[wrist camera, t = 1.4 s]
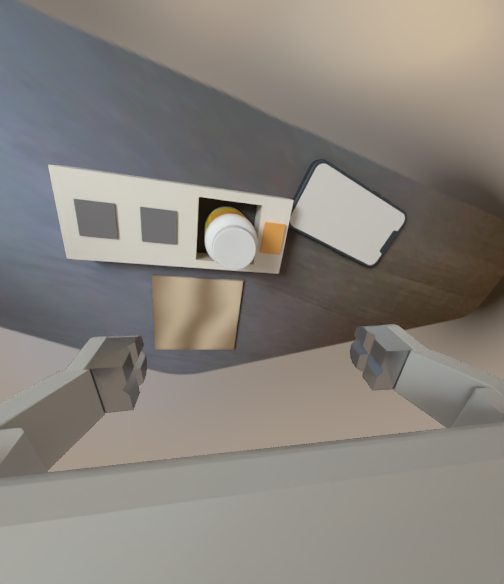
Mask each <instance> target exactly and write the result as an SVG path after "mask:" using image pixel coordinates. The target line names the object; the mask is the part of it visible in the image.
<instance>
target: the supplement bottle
mask: <svg viewBox="0 0 504 584" xmlns="http://www.w3.org/2000/svg"><path fill="white" fill-rule="evenodd" d="M205 247H206V250H207V252H208V254H209V256H210V257H211V258H212V259H213V260H214V261H215V262H216V263H218V264H220V265H221V266H222V267H224V268H226V269H229V270H239V269H242V268H244V267H246V266H248V265H249V264H250V263H251V262H252V260H253V259H254V256H255V253H256V248H257V234H256V231H255V229H254V227H253V225H252V224H251V223H250V221H249V220H248V219H247V218H246V217H245V216H244V215H243V214H242V213H241V212H240V211H239V210H237V209H236V208H233V207H230V206H222V207H219V208H216V209H215V210H213V211H212V212H211V213H210V214H209V215H208V217H207V219H206V222H205Z"/></svg>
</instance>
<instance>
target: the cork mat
mask: <svg viewBox="0 0 504 584" xmlns="http://www.w3.org/2000/svg"><path fill="white" fill-rule="evenodd" d="M242 286H243V280H230V279H214V278H198V277H182V276H166V275H152V291H153V315H154V340H155V349H234V345H235V337H236V330H237V323H238V316H239V308H240V301H241V294H242Z"/></svg>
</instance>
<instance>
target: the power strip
mask: <svg viewBox="0 0 504 584" xmlns="http://www.w3.org/2000/svg"><path fill="white" fill-rule="evenodd" d="M48 167H49V172H50V177H51V182H52V187H53V192H54V197H55V202H56V207H57V212H58V217H59V222H60V227H61V232H62V237H63V242H64V247H65V252H66V257H67V259H78V260H92V261H106V262H120V263H134V264H148V265H162V266H176V267H190V268H204V269H218V270H229V269H226V268H224V267H222V266H221V265H220V264H218V263H216V262H215V261H214V260H213V259H212V258H211V257H210V256H209V254H208V253H197V236H198V213H199V197H203V198H211V199H218V200H226V201H233V202H240V203H248V204H255V205H257V209H256V216H255V223H254V229H255V231H256V234H257V248H256V253H255V256H254V259H253V260H252V262H251V263H250V264H249V265H248V266H246V267H244V268H242V269H239V270H232V271H246V272H260V273H274V274H279V270H280V265H281V260H282V255H283V250H284V245H285V240H286V236H287V231H288V226H289V221H290V216H291V211H292V206H293V201H294V200H291V199H288V198H283V197H276V196H269V195H263V194H256V193H249V192H242V191H235V190H228V189H221V188H215V187H208V186H201V185H194V184H187V183H180V182H174V181H167V180H160V179H153V178H146V177H139V176H133V175H126V174H119V173H112V172H105V171H98V170H91V169H85V168H78V167H71V166H62V165H48Z"/></svg>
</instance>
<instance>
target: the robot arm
mask: <svg viewBox="0 0 504 584" xmlns="http://www.w3.org/2000/svg"><path fill="white" fill-rule="evenodd" d="M354 336H355V338H356V340H355V341H354V342H353V343H352V345H351V349H350V356H351V360H352V362H353V364H354V365H355V367H356V368H357V369H359V370H361V371H362V372H363V378H364V379H365V381H366V382H367V383H368V385H369V386H370V388H371V389H372V390H389V389H394V391H395V392H397V393H398V394H400V395H401V396H403V397H404V398H405V399H407V400H408V401H410V402H411V403H413V404H414V405H415V406H417V407H418V408H419V409H421V410H422V411H424V412H425V413H427V414H428V415H429V416H431V417H432V418H434V419H435V420H436V421H438V422H439V423H441V424H442V425H444V426H445V427H446V428H444V429H435V430H426V431H417V432H408V433H399V434H390V435H381V436H372V437H363V438H354V439H346V440H336V441H327V442H319V443H309V444H300V445H292V446H282V447H273V448H264V449H255V450H246V451H237V452H228V453H219V454H209V455H201V456H192V457H183V458H173V459H164V460H156V461H147V462H137V463H128V464H120V465H112V466H111V465H110V466H102V467H92V468H83V469H75V470H66V471H56V472H48V470H49V469H50V468H51V467H52V466H53V465H54V464H55V463H56V462H57V461H58V460H59V459H60V458H61V457H62V456H63V455H64V454H65V453H66V452H67V451H68V450H69V449H70V448H71V447H72V446H73V445H74V444H75V443H76V442H77V441H78V440H79V439H80V438H82V437H83V436H84V435H85V434H86V432H88V431H89V430H90V429H91V428H92V427H93V426H94V425H95V424H96V423H97V422H98V421H99V420H100V419H101V418H102V417H103V416H104V415H105V413H111V412H119V411H128V410H134V407H135V404H136V402H137V399H138V396H139V393H140V392H139V387H138V386H139V385H141V384H142V383H143V382H144V379H145V376H146V370H147V360H146V355H145V354H144V353H143V352H141V350H142V348H143V346H144V344H143V340H142V337H141V336H140V335H135V336H98V337H92V338H90V339H89V340H88V342H87V343H86V344H85V345H84V347H83V348H82V349H81V350H80V352H79V353H78V354H77V356H76V357H75V358H74V359H73V361H72V362H71V363H70V364H69V366H68V367H67V368H66V369H65V371H58V372H57V373H55V374H53V375H51V376H49V377H48V378H46V379H44V380H42V381H41V382H39V383H37V384H35V385H33V386H32V387H30V388H28V389H26V390H24V391H23V392H21V393H19V394H17V395H16V396H14V397H12V398H10V399H9V400H7V401H5V402H3V403H1V404H0V584H504V379H502V378H499V377H497V376H495V375H492V374H490V373H487V372H485V371H482V370H480V369H478V368H475V367H473V366H470V365H468V364H466V363H463V362H461V361H458V360H456V359H454V358H451V357H448V356H446V355H444V354H441V353H439V352H437V351H434V350H431V349H426V348H425V347H424V346H423V345H422V344H420V343H419V342H418V341H417V340H415V339H414V338H413V337H412V336H411V335H409V334H408V333H407V332H406V331H404V330H403V329H402V328H401V327H400V326H398V325H395V324H389V325H379V326H360V327H358V328H357V329H356V331H355V334H354Z"/></svg>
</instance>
